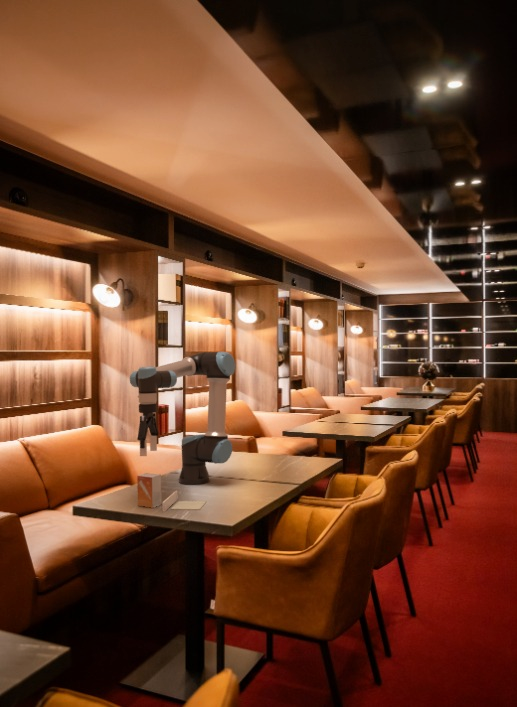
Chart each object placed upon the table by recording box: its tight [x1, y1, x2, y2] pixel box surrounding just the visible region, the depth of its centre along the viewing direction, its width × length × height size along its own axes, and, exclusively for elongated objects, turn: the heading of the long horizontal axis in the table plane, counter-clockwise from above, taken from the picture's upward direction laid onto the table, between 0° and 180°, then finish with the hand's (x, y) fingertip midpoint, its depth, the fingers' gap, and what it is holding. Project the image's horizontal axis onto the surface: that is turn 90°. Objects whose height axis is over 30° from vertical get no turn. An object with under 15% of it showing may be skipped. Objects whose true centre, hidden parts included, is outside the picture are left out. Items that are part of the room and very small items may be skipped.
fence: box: [161, 490, 179, 513], centre depth 249 cm, size 20×1×4 cm, turn 172°
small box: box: [137, 472, 163, 509], centre depth 250 cm, size 8×6×13 cm
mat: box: [170, 500, 207, 511], centre depth 248 cm, size 12×12×1 cm
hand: (148, 453), depth 250 cm, fingers open, 13 cm apart
